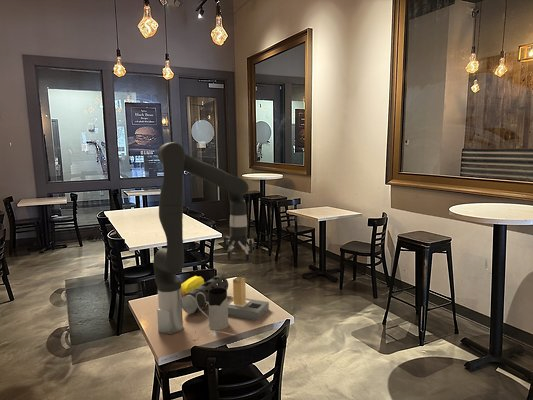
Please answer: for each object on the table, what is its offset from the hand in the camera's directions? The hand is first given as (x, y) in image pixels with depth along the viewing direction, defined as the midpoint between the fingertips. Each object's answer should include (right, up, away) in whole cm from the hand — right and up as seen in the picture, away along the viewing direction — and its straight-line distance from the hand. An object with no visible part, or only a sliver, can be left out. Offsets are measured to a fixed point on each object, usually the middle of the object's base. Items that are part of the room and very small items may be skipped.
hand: (239, 260), depth 168 cm
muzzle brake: (-16, -23, +12) cm, 30 cm away
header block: (+3, -24, +2) cm, 24 cm away
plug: (0, -19, +3) cm, 19 cm away
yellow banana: (-26, -21, +29) cm, 44 cm away
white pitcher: (-10, -25, -9) cm, 29 cm away
